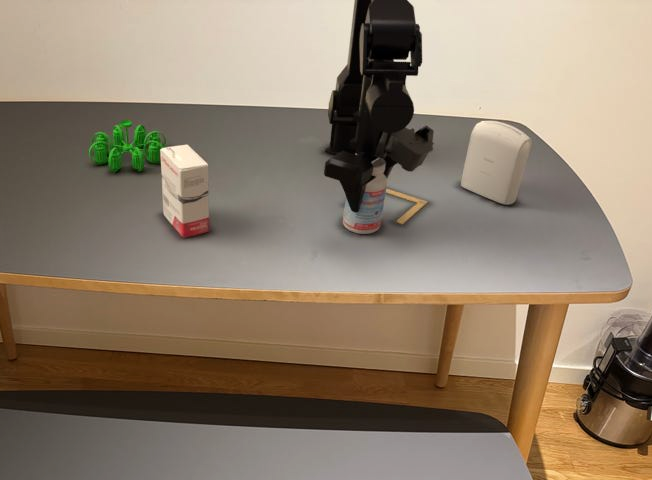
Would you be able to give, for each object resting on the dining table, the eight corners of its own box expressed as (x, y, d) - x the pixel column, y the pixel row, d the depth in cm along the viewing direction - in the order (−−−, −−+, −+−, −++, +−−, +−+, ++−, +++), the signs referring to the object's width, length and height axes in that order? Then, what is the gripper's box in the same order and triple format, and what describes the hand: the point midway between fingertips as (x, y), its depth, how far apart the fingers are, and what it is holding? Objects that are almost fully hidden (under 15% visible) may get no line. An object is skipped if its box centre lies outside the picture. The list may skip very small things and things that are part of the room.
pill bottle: (356, 238, 117) (365, 173, 110) (335, 221, 121) (342, 157, 114) (387, 230, 119) (398, 164, 112) (365, 213, 123) (374, 149, 116)
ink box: (211, 232, 118) (210, 163, 111) (182, 239, 117) (179, 169, 109) (189, 208, 124) (187, 141, 117) (162, 214, 123) (158, 147, 115)
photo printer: (455, 186, 131) (470, 118, 123) (470, 179, 133) (486, 112, 125) (505, 208, 124) (524, 138, 116) (520, 200, 127) (540, 131, 119)
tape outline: (346, 205, 125) (346, 204, 125) (373, 185, 131) (373, 184, 131) (402, 224, 120) (402, 223, 120) (427, 202, 126) (427, 201, 126)
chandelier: (78, 150, 142) (74, 114, 137) (152, 136, 146) (149, 101, 142) (103, 182, 131) (98, 146, 127) (180, 167, 136) (179, 131, 132)
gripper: (399, 139, 98) (381, 243, 108) (457, 102, 110) (437, 198, 120) (327, 119, 103) (317, 220, 113) (390, 86, 115) (376, 179, 125)
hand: (364, 204), depth 117 cm, fingers closed on pill bottle, 6 cm apart
